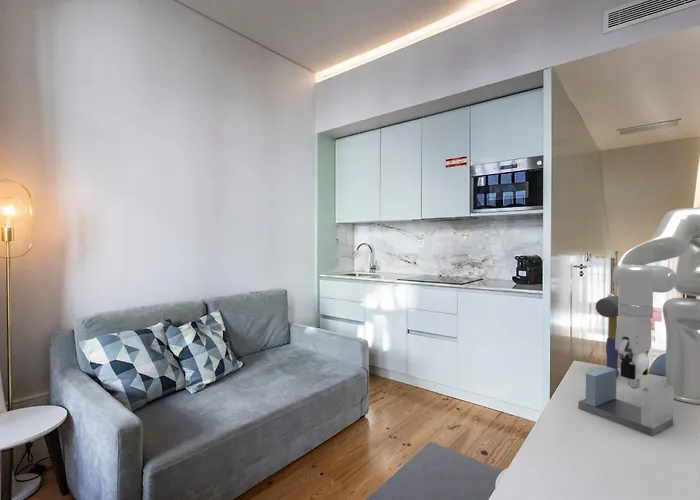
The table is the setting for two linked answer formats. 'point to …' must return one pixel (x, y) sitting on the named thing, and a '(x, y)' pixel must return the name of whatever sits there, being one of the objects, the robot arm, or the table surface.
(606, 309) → the rubber mallet
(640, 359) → the lightbulb
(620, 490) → the table surface
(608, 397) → the vise jaw
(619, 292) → the robot arm
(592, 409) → the vise base
